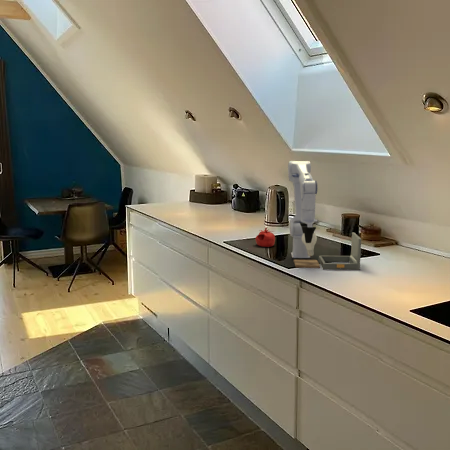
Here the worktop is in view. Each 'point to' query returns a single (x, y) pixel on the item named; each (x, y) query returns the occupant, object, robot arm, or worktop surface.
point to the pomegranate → (265, 238)
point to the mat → (306, 264)
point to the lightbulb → (310, 244)
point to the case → (344, 257)
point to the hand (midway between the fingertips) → (307, 241)
